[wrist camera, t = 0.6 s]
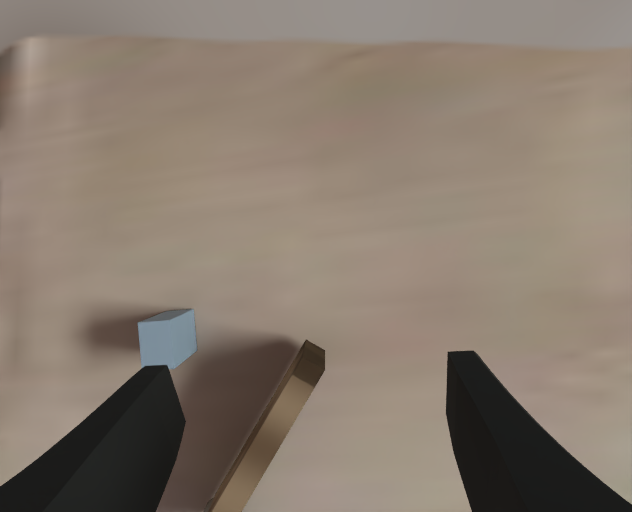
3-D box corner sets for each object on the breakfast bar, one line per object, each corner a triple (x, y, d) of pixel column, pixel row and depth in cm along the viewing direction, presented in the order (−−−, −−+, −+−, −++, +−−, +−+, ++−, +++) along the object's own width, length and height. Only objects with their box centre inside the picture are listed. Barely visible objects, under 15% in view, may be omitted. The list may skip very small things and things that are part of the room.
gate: (223, 526, 32) (204, 581, 27) (201, 513, 32) (177, 565, 27) (326, 351, 32) (327, 372, 26) (304, 338, 32) (300, 356, 27)
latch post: (197, 350, 33) (174, 368, 28) (169, 352, 33) (142, 371, 28) (193, 308, 33) (170, 320, 28) (165, 311, 33) (137, 322, 28)
